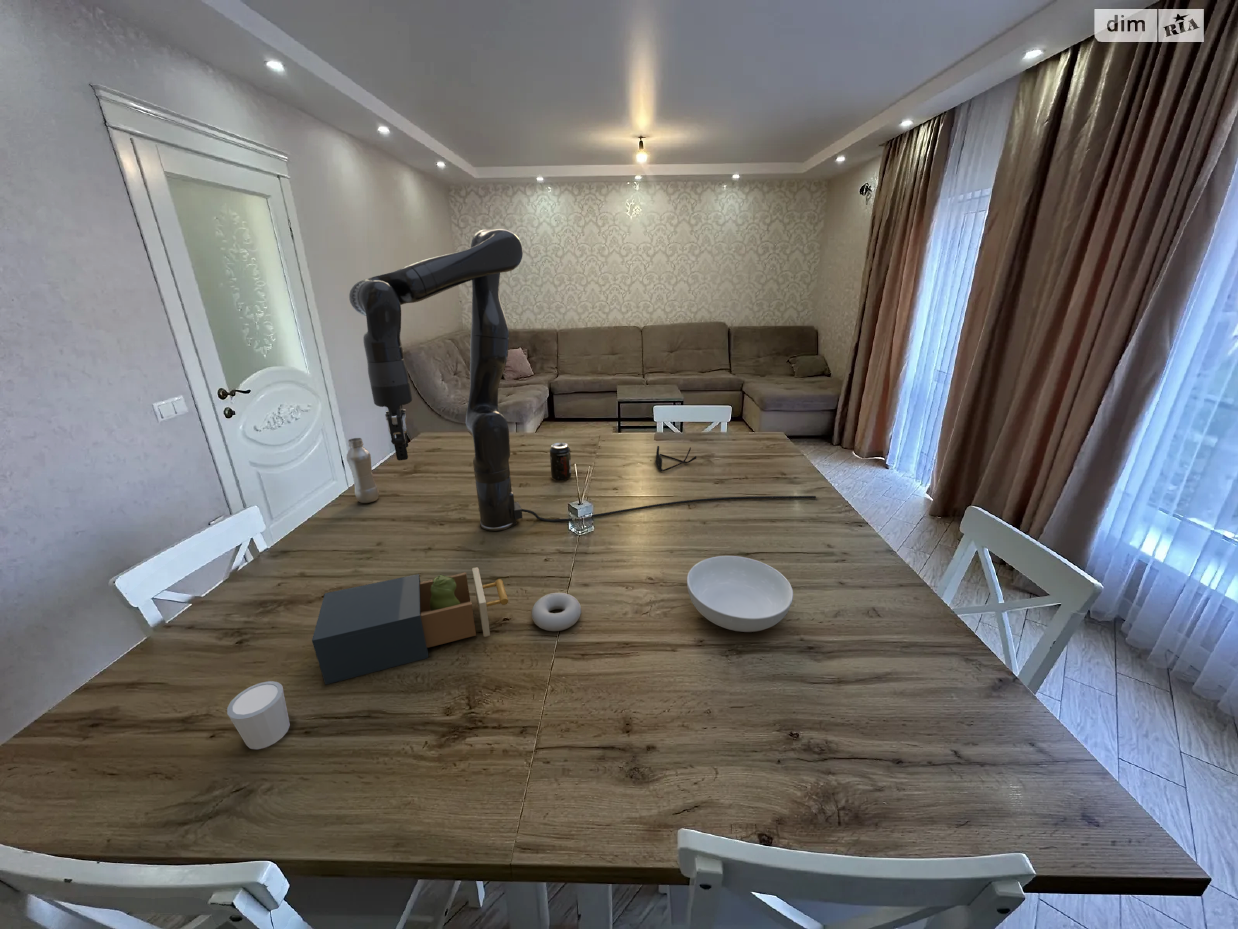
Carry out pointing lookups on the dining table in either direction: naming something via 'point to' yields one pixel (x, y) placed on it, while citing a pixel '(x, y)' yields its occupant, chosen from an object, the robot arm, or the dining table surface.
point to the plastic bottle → (361, 471)
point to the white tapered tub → (260, 714)
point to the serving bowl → (739, 593)
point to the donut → (558, 619)
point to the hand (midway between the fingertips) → (403, 453)
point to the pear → (443, 593)
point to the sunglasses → (659, 459)
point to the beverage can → (560, 461)
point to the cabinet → (369, 629)
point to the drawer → (457, 611)
